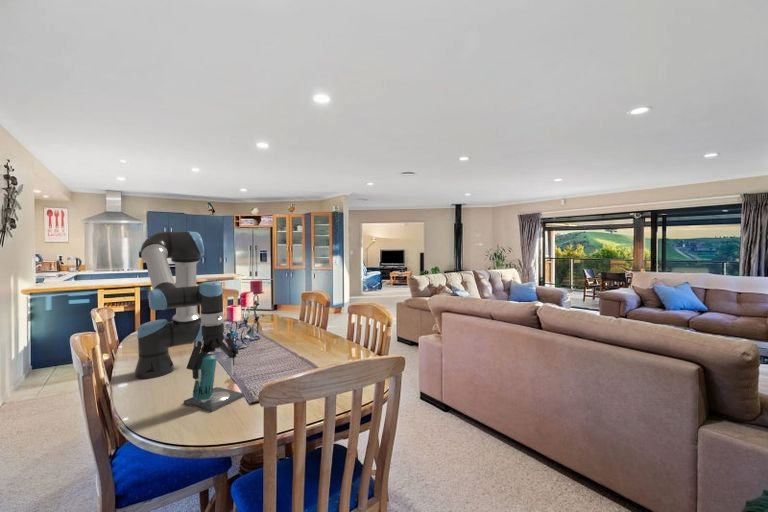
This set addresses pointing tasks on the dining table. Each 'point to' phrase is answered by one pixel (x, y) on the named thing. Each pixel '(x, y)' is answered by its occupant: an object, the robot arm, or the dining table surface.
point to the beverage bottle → (206, 375)
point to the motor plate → (215, 399)
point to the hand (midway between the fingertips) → (215, 380)
